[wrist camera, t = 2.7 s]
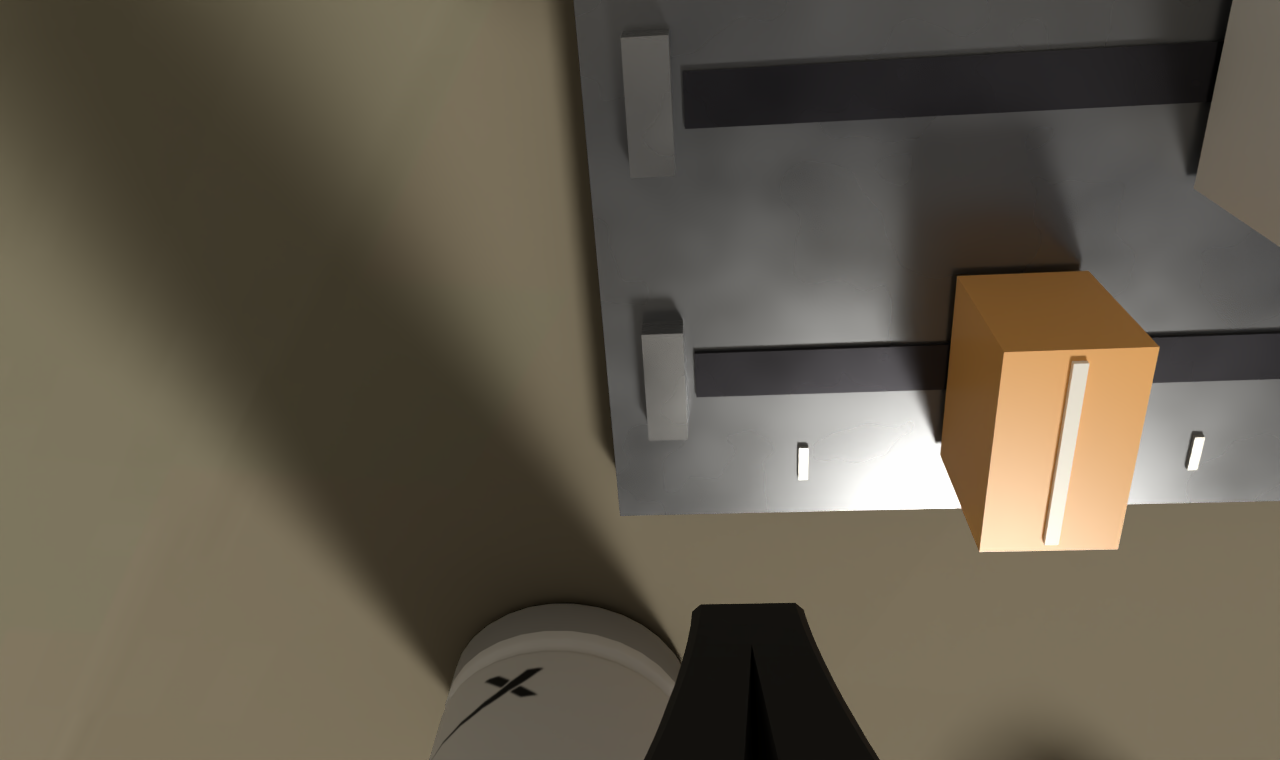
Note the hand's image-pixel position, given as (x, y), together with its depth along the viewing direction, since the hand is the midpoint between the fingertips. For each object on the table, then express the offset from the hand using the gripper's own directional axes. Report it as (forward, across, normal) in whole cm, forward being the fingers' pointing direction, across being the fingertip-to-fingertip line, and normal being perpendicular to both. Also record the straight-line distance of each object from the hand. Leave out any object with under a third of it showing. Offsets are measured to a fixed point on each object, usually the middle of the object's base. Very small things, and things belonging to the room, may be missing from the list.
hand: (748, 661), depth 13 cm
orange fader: (+8, -6, 0) cm, 10 cm away
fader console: (+9, -8, -3) cm, 12 cm away
